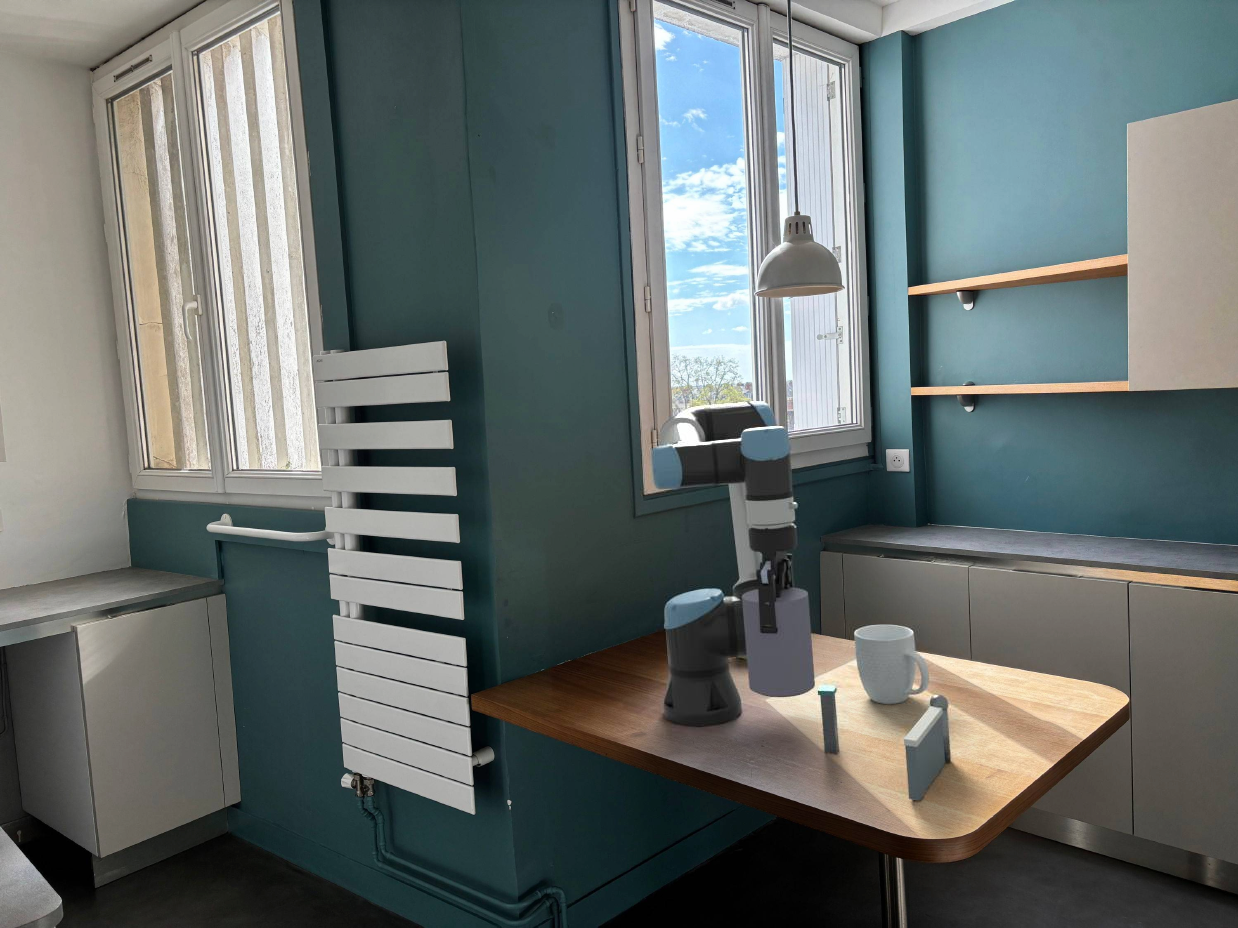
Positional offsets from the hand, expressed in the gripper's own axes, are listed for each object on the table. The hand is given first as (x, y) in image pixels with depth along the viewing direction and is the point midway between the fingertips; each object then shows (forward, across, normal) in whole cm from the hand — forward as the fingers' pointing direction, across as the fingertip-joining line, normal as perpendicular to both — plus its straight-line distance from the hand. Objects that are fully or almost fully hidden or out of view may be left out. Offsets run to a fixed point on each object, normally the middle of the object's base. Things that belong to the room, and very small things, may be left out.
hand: (783, 665), depth 139 cm
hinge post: (+17, +8, -22) cm, 29 cm away
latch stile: (+17, +8, -5) cm, 19 cm away
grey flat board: (+16, -1, -21) cm, 27 cm away
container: (+3, -2, 0) cm, 4 cm away
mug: (+17, +34, -12) cm, 40 cm away
